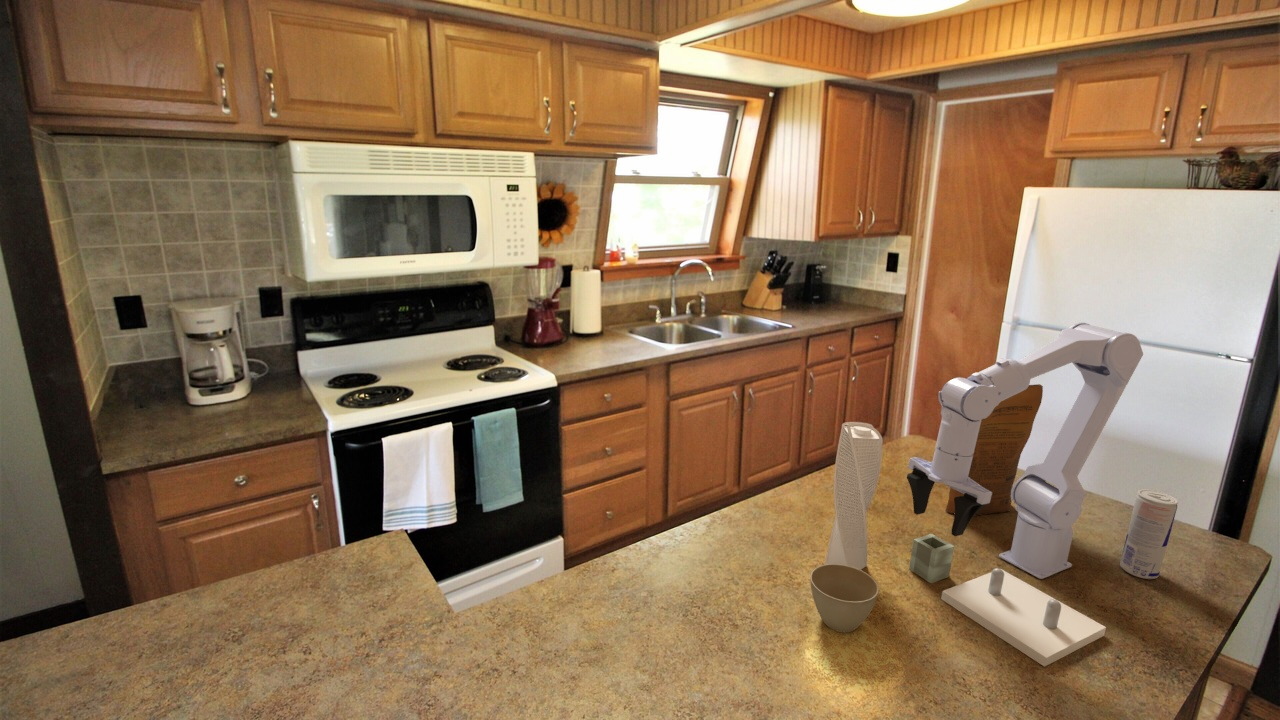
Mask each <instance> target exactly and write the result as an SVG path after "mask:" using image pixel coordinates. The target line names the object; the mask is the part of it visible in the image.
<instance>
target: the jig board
mask: <svg viewBox="0 0 1280 720" xmlns="http://www.w3.org/2000/svg"><path fill="white" fill-rule="evenodd" d="M940 599H941V600H942V601H943V602H945V603H946V604H948V605H949V606H951V607H953V608H954V609H956V610H958V612H960V613H962V614H964V616H966V617H967V618H969V619H971V620H972V621H974V622H976V623H977V624H979V626H982V627H983V628H985V629H986V630H987V631H989V632H991V633H992V634H994V635H996V636H997V637H998V638H1000V639H1001V640H1002V641H1004V642H1006V643H1007V644H1009V645H1011V647H1014V648H1015V649H1017V650H1019V651H1020V652H1022V653H1023V654H1025V656H1028V657H1029V658H1031V659H1032V660H1033V661H1035V662H1037V663H1039V664H1040V665H1042V666H1043V667H1047V666H1048V665H1050V664H1052V663H1055V662H1056V661H1058V660H1060V659H1062V658H1064V657H1066V656H1068V655H1070V654H1072V653H1073V652H1076V651H1077V650H1079V649H1081V648H1084V647H1086V646H1087V645H1089V644H1091V643H1093V642H1095V641H1096V640H1098V639H1099V640H1100V639H1101V638H1102V637H1104V636H1105V635H1106V634H1105V633H1106V629H1107V627H1106V626H1105V625H1103V624H1101V623H1099V622H1097V621H1096V620H1094V619H1092V618H1091V617H1089V616H1087V615H1085V614H1083V613H1081V612H1079V611H1077V610H1075V609H1074V608H1073V607H1070V606H1069V605H1066V603H1065V604H1064V603H1063V602H1062V601H1059V600H1057V599H1055V598H1054V597H1052V596H1050V595H1048V594H1047V593H1045V592H1043V591H1041V590H1040V589H1038V588H1036V587H1034V586H1033V585H1030V584H1029V583H1027V582H1025V581H1024V580H1022V579H1020V578H1018V577H1016V576H1015V575H1013V574H1011V573H1009V572H1007V571H1005V570H1004V569H1002V568H998V567H996V568H993V569H992V570H991V572H988V573H985V574H983V575H981V576H978V577H976V578H972V579H970V580H968V581H964V582H963V583H959V584H957V585H955V586H952V587H950V588H947V589H944V590H942V591H941V598H940Z"/></svg>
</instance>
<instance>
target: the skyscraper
mask: <svg viewBox="0 0 1280 720" xmlns="http://www.w3.org/2000/svg"><path fill="white" fill-rule="evenodd" d="M882 457H883V437H882V434H881V433H880V432H879V430H878V429H876V428H875V426H873V424H871V423H867V422H861V421H847V422H843V423H842V424H841V430H840V434H839V440H838V443H837V450H836V458H835V462H834V463H835V464H834V475H833V503H834V513H835V517H834V520H833V525H832V529H831V534H830V537H829V542H828V545H827V551H826V556H825V561H824V565H825V564H842V565H848V566H852V567H855V568H858V569H860V570H863V569H864V568H867V567H868V524H867V513H868V509H869V507H870V505H871V503H872V501H873V497H874V495H875V492H876V490H877V485H878V482H879V478H880V474H881V468H882Z"/></svg>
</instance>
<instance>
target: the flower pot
mask: <svg viewBox="0 0 1280 720" xmlns="http://www.w3.org/2000/svg"><path fill="white" fill-rule="evenodd" d="M809 582H810V589H811V590H810V591H811V594H812V598H813V601H814V605H815V606H816V609H817V613H818V614H819V616H820V618H821V619H822V622H823V623H824V624H825V626H827V627H828V628H829V629H830V630H832V631H836V632H839V633H851V632H854V631H855V630H856V629H857V628H858V627H860V626H861V624H863V623H864V621H865V620H866V619H867V618H868V616H869V615H870V613H871V612H872V610H873V608H874V606H875V604H876V602H877V599H878V595H879V592H880V588H879V584H878V582H877V581H876V579H875V578H874V577H873V576H871V575H870V574H869V573H867V572H865V571H864V570H863V569H861V570H860V569H858V568H855V567H852V566H848V565H842V564H825V563H824V564H821V565H819V566H816V567H815V568H813V570H812V571H811V572H810V581H809Z"/></svg>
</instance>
